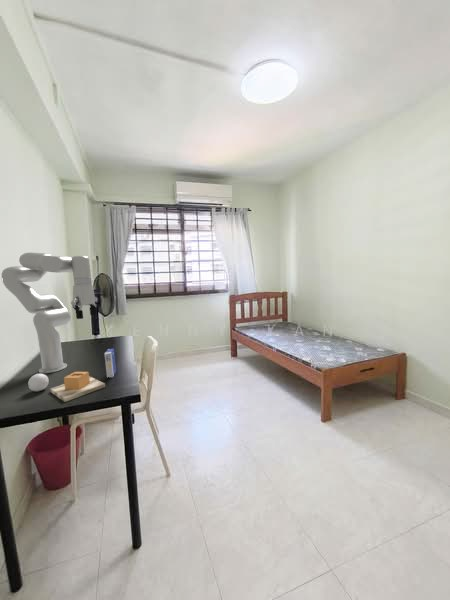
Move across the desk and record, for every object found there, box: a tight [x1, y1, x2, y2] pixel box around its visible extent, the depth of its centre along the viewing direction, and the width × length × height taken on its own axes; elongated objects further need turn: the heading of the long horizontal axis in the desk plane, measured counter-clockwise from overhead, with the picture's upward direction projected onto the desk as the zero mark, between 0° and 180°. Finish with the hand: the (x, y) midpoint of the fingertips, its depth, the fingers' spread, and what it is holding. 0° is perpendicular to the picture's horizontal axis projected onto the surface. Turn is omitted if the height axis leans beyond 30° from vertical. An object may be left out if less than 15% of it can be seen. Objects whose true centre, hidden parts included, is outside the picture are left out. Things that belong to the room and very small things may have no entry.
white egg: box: [27, 373, 50, 392], centre depth 114 cm, size 10×7×7 cm
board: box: [49, 375, 106, 403], centre depth 114 cm, size 16×16×6 cm
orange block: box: [63, 371, 90, 390], centre depth 114 cm, size 7×7×5 cm
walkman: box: [104, 348, 117, 379], centre depth 129 cm, size 8×3×12 cm, turn 11°
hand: (86, 316), depth 131 cm, fingers open, 9 cm apart
